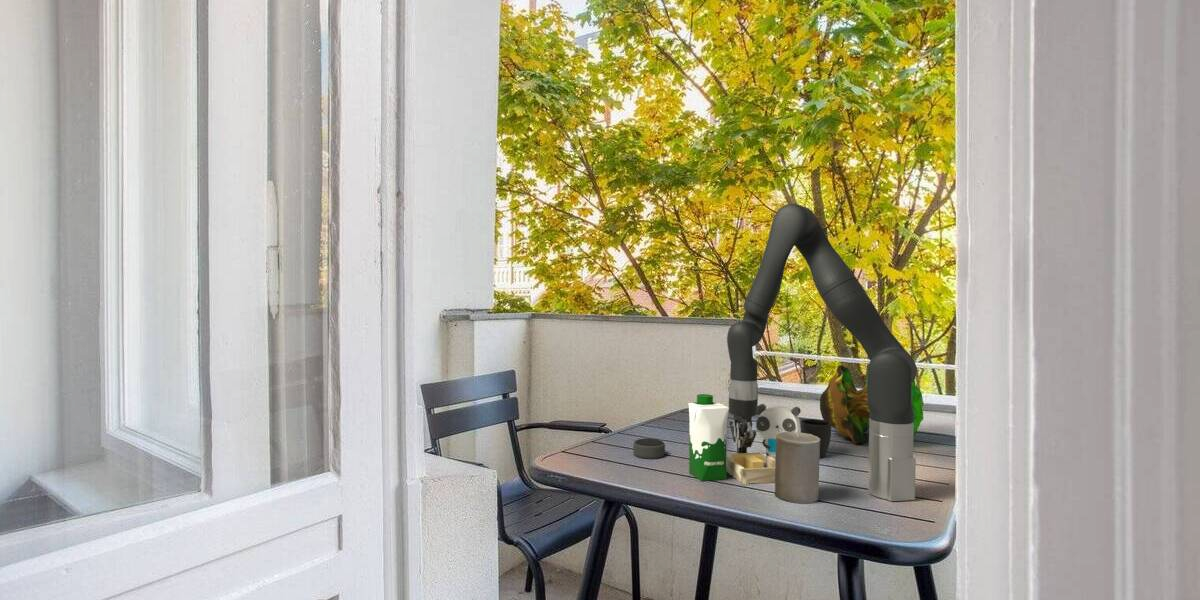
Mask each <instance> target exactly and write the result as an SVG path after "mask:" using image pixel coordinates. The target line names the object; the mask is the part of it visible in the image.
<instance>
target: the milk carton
mask: <svg viewBox="0 0 1200 600" xmlns="http://www.w3.org/2000/svg"><path fill="white" fill-rule="evenodd" d="M688 414H689V415H688V417H689V440H688V441H689V442H688V443H689V447H688V449H689V450H688V451H689V452H688V455H689V456H688V459H689V460H688V461H689V462H688V468H689V469H688V471H689V474H690V475H692V476H693V477H695V478H696V479H698V480H699V482H705V481H706V482H708V481H718V480H719V481H720V479H721V480H727V476H728V475H727V474H728V472H727V469H726V458H727V443H728V441H727V439H728V438H727V437H728V436H727V435H728V433H727V432H728V430H727V429H728V428H727V427H728V424H727V423H728V417H729V406H727V405H725V404H722V403H719V402H717V401H714V395H712V394H708V393H707V394H706V393H699V394H697V395H696V401H693V402H688Z"/></svg>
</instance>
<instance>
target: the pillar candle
mask: <svg viewBox="0 0 1200 600" xmlns="http://www.w3.org/2000/svg"><path fill="white" fill-rule="evenodd" d="M820 460H821V458H820V438H818V437H816V436H814V435H811V434H806V433H801V432H798V431H797V432H782V433H778V434H777V435H776V458H775V483H774V496H775V497H776V498H777V497H778V498H777V499H780V500H782V501H784V500H785V502H788V501H790V503H792V502H796V503H795V504H802V503H803V504H805V505H806V504H813V503H816V502H817V501H819V493H820V492H819V489H820V488H819V487H820Z"/></svg>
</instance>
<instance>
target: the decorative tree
mask: <svg viewBox="0 0 1200 600" xmlns="http://www.w3.org/2000/svg"><path fill="white" fill-rule="evenodd" d="M865 382H866V383H865V385H864V387H863V388H860V389H859V390H858V389H857V388H856V386H855V384H854V380H853V375H852V373H851V370H850V369H849V368H848V367H845V366H844V365H843V364H838V365H837V367H836V372H835V374H834V375H833V376H832V377H831V378H830V379H829V380H828V385H827V387H826V388H825V389H824V391H823V392H822V393H821V394H820V398H819V410H820V414H821V418H822V420H824V421H828V422H830V423H831V428H834V429H835V430H837V432H838V434H839V436H840V437H848V438H850V440H852V442H853V444H854V445H857V444H861V443H864V442H865V439H866V437H865V433H866V432H867V431H869V430H868V429H869V408H868V403H867V378H866V380H865ZM920 389H921V388H919V387H918V386H916V381H915V379H914V381H913V382H912V390H911V401H912V408H913V411H914V434H913V438H915V436H916V435H917V432H918V429H919V427H920V425H921V423H922V421H923V420H924V418H925V417H924V412H923V411H924V410H923V407H924V398H923V393H922V391H921V390H920Z"/></svg>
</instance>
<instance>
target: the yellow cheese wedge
mask: <svg viewBox="0 0 1200 600" xmlns="http://www.w3.org/2000/svg"><path fill="white" fill-rule="evenodd" d="M729 458H731V459H732V460H734V461H735V462H737V463H738V464H739V465H741V466H742V467H743V468H745V469H746V468H765V466H764V465H765V464H764V455H763V454H762V453H760V452H747V453H739V454H737V453H730V454H729Z"/></svg>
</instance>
